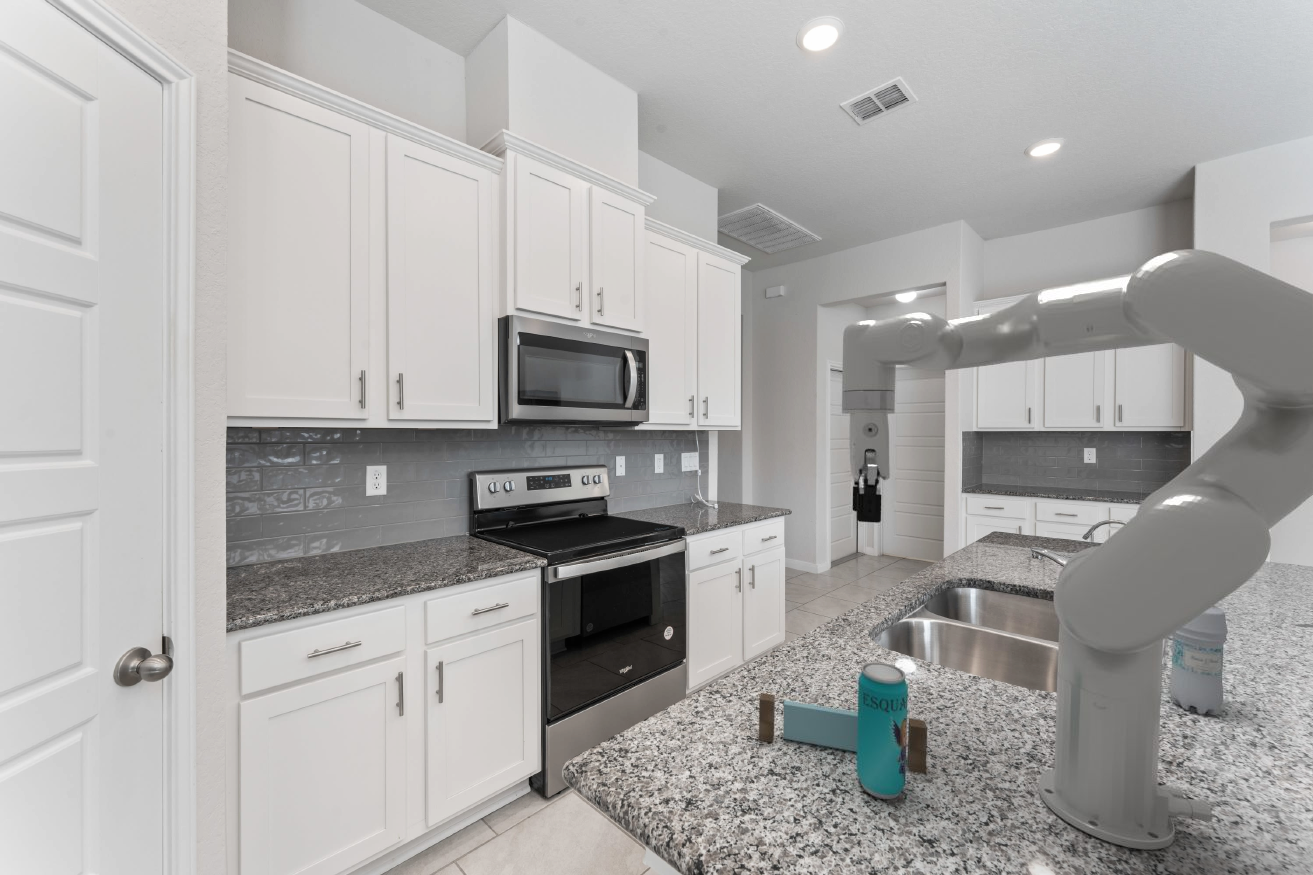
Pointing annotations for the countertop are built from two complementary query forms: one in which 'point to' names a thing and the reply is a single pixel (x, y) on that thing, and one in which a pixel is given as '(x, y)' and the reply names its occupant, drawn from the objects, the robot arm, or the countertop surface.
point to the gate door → (820, 725)
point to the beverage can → (882, 729)
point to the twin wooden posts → (915, 733)
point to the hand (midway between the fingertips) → (865, 516)
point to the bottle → (1199, 662)
